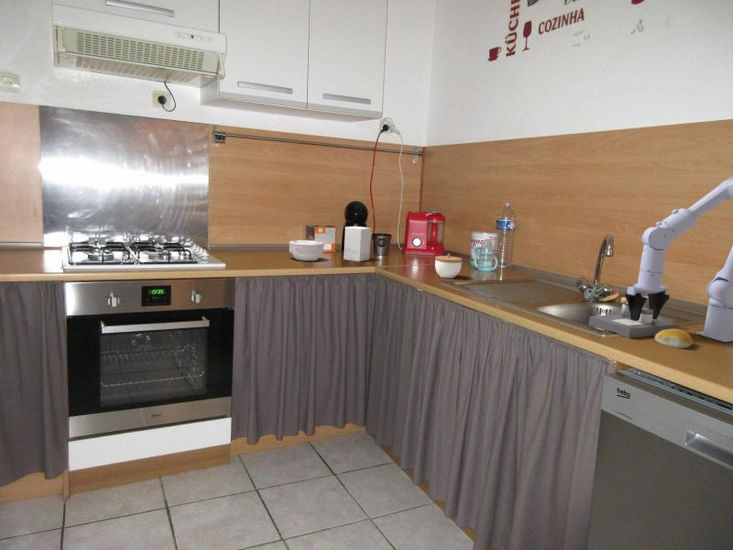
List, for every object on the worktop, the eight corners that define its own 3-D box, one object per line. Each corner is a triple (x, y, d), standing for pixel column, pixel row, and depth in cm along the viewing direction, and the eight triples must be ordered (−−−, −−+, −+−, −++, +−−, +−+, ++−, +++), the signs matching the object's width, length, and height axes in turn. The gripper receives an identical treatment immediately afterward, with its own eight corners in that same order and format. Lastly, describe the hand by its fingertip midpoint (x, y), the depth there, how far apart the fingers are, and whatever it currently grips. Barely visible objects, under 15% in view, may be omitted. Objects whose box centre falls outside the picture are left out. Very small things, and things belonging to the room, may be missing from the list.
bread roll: (694, 344, 140) (697, 329, 139) (686, 351, 133) (689, 335, 132) (659, 337, 145) (661, 322, 144) (650, 343, 138) (652, 328, 138)
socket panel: (635, 320, 161) (638, 301, 160) (677, 332, 150) (680, 311, 149) (588, 325, 152) (591, 304, 151) (628, 338, 141) (632, 315, 140)
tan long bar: (626, 304, 153) (627, 299, 153) (619, 302, 156) (620, 297, 155) (657, 303, 158) (658, 298, 157) (649, 301, 160) (650, 296, 160)
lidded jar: (429, 276, 216) (431, 253, 214) (439, 273, 225) (441, 251, 223) (455, 280, 211) (457, 256, 209) (463, 277, 220) (466, 254, 219)
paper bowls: (286, 256, 245) (286, 239, 243) (319, 257, 249) (319, 240, 248) (291, 261, 230) (292, 243, 229) (326, 262, 235) (327, 244, 234)
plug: (640, 327, 153) (643, 306, 152) (653, 331, 150) (656, 310, 149) (631, 328, 151) (634, 307, 150) (644, 332, 148) (647, 311, 147)
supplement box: (370, 260, 250) (372, 227, 248) (359, 261, 243) (361, 228, 240) (353, 257, 255) (355, 225, 252) (343, 259, 247) (344, 226, 245)
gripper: (655, 268, 155) (647, 314, 157) (620, 268, 148) (613, 316, 150) (678, 272, 148) (670, 320, 151) (643, 273, 142) (635, 323, 144)
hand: (643, 319), depth 150 cm, fingers open, 7 cm apart
